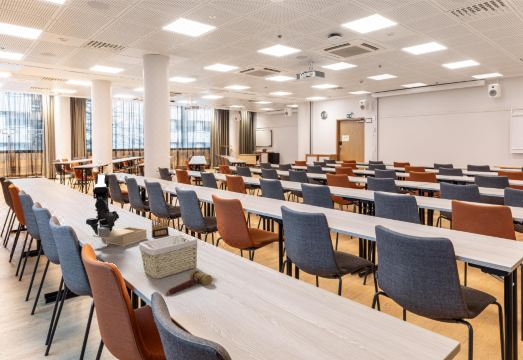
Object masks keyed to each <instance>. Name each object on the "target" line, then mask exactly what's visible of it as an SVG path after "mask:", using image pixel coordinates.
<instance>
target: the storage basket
mask: <svg viewBox="0 0 523 360" xmlns="http://www.w3.org/2000/svg"><path fill="white" fill-rule="evenodd" d="M138 246H139V251H140V253H141V254H140V255H141V259H142V265H143V271H144V273H145V274H147V275H149V276H151V277H152V278H154V279H162V278H165V277H168V276H172V275H175V274H179V273H183V272H185V271H188V270H192V269H195V268H197V267H198V266H197V265H198V262H197V261H198V239H197V238H196V237H193V236H190V235H187V234H184V233H179V234H174V235H168V236H163V237H160V238H154V239H151V240H145V241H140V242H139V245H138Z"/></svg>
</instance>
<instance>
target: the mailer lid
mask: <svg viewBox="0 0 523 360" xmlns="http://www.w3.org/2000/svg"><path fill="white" fill-rule="evenodd" d="M134 232H135V231H133V230H126V229H123V228H118V227H116V228H114V229H113V228H112V231H110V230H109V228H105V227H101V228H100V227H98V235H96V234H95V233H94V234H92V237H94V238H95V237H96V238H101V239H105V240H106V239H114V238H117V237H120V236H124V235H127V234H130V233H134Z"/></svg>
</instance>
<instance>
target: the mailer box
mask: <svg viewBox="0 0 523 360" xmlns="http://www.w3.org/2000/svg"><path fill="white" fill-rule="evenodd" d="M122 229H126V230H133V231H135V232H134V233H130V234H127V235H124V236H120V237H117V238H114V239H105V243H106V244H110V245H111V244H112V245H117V246H123V247H125V246H128V245H130V244H134V243H138V242H142V241H144V240H147V238H148V237H147V228H141V227H140V228H139V227H133V226H132V227H131V226H127V227H123V228H122Z"/></svg>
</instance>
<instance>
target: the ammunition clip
mask: <svg viewBox="0 0 523 360" xmlns="http://www.w3.org/2000/svg"><path fill="white" fill-rule="evenodd" d="M169 232H170V231H169V224H168V218H167V217H165V218H164V217H162V218H161V217H160V219H159V218H157V219H156V218H154V219H153V218H152V220H151V238H154V239H156V238H159V237H160V238H162V237H168V236H170V234H169Z"/></svg>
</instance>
